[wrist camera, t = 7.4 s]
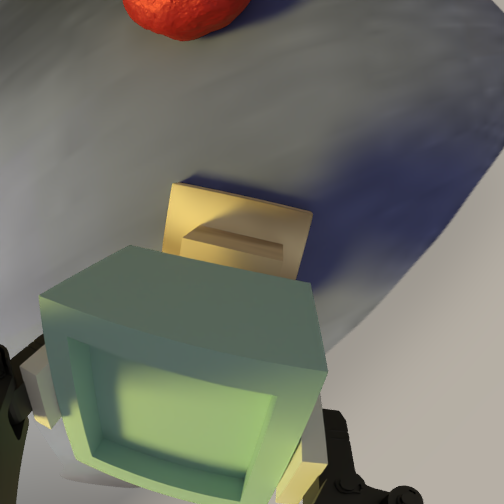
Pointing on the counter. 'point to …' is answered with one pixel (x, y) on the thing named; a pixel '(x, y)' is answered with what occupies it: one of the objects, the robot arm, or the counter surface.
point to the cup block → (184, 372)
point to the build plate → (235, 230)
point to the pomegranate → (184, 16)
